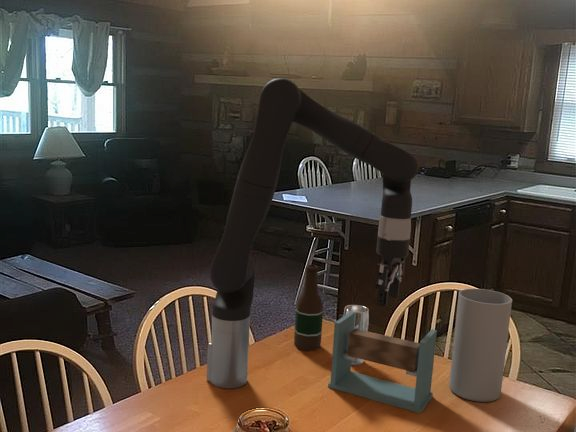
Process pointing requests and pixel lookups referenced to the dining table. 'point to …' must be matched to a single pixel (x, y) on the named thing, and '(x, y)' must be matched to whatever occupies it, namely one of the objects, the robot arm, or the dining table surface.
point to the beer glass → (358, 322)
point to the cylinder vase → (480, 344)
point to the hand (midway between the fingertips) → (387, 301)
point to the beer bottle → (309, 313)
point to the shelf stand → (377, 387)
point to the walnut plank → (384, 349)
